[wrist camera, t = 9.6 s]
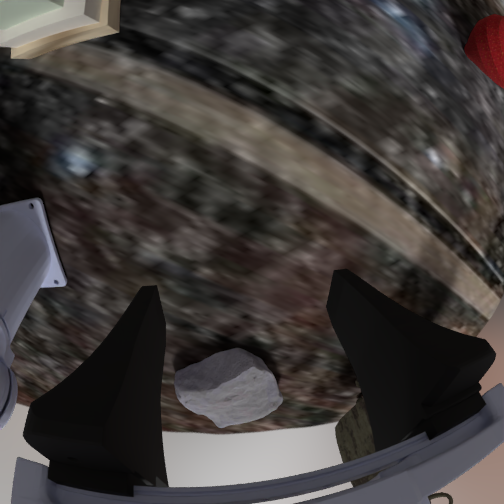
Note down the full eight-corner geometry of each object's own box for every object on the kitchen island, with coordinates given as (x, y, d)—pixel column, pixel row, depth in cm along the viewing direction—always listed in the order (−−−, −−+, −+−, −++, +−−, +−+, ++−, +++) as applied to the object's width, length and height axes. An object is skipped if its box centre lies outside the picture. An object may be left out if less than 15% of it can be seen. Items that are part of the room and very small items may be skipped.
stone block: (240, 326, 30) (164, 372, 29) (257, 359, 26) (172, 407, 25) (280, 374, 37) (218, 410, 36) (296, 401, 33) (229, 438, 32)
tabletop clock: (359, 403, 42) (410, 528, 21) (317, 405, 39) (366, 550, 18) (417, 345, 36) (495, 484, 15) (378, 341, 33) (466, 514, 12)
